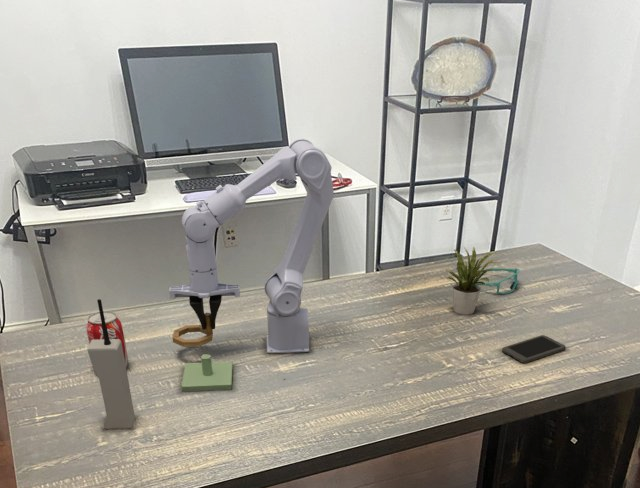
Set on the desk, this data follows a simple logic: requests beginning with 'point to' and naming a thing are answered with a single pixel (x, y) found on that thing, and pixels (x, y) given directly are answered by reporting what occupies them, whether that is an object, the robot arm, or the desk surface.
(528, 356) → the cell phone
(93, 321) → the soda can
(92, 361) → the vintage mobile phone
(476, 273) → the house plant
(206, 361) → the peg stand
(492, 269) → the sunglasses
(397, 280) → the desk surface
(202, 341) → the maple ring
